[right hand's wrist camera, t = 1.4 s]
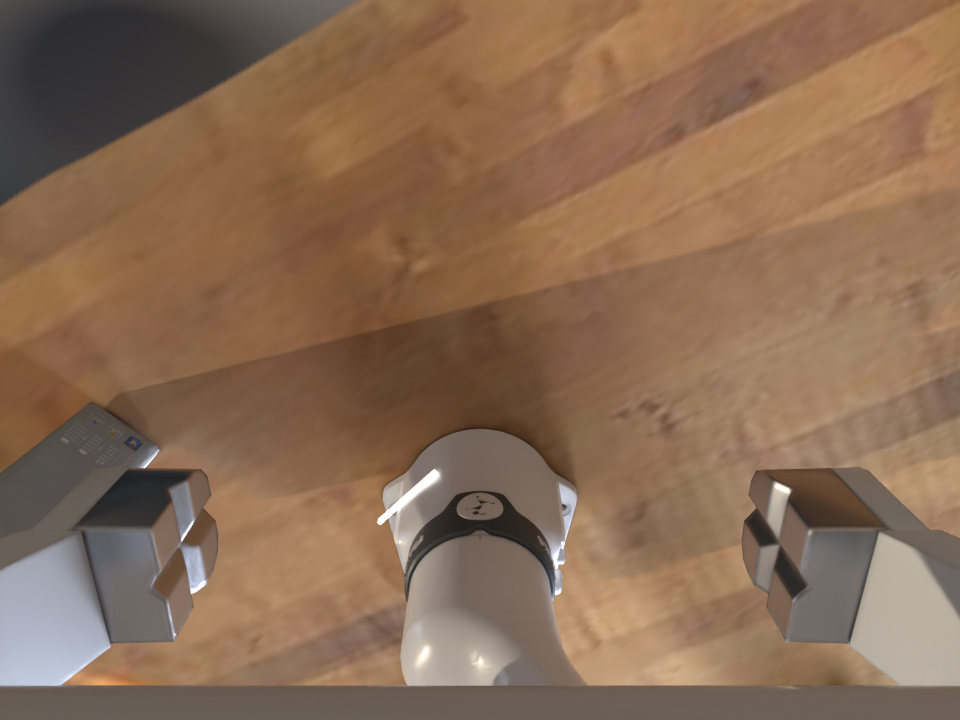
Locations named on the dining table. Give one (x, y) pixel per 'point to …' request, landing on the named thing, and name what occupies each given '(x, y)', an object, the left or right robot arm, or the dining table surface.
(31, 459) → the hard drive box
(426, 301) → the dining table surface
